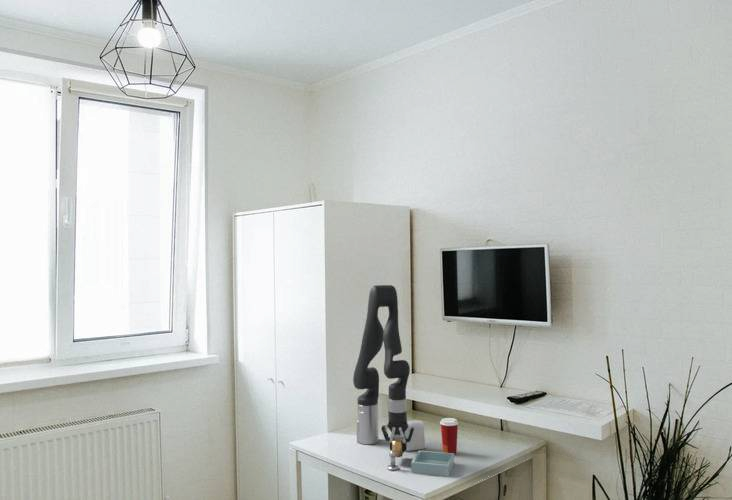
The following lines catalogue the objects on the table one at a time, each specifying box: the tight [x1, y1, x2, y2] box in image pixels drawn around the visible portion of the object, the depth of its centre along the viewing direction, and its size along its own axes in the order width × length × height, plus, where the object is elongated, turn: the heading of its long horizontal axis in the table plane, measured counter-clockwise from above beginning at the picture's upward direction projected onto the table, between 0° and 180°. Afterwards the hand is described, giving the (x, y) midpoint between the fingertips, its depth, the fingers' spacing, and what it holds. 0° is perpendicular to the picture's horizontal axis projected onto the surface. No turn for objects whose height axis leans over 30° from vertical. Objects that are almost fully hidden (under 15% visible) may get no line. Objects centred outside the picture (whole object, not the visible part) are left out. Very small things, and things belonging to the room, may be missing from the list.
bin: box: [410, 449, 455, 477], centre depth 228 cm, size 14×14×4 cm
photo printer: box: [405, 419, 426, 452], centre depth 251 cm, size 10×4×12 cm, turn 107°
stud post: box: [386, 450, 399, 472], centre depth 228 cm, size 4×4×7 cm
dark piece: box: [391, 434, 405, 458], centre depth 236 cm, size 4×10×6 cm, turn 168°
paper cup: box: [439, 417, 459, 456], centre depth 245 cm, size 8×8×14 cm
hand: (398, 451), depth 236 cm, fingers closed on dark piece, 4 cm apart
